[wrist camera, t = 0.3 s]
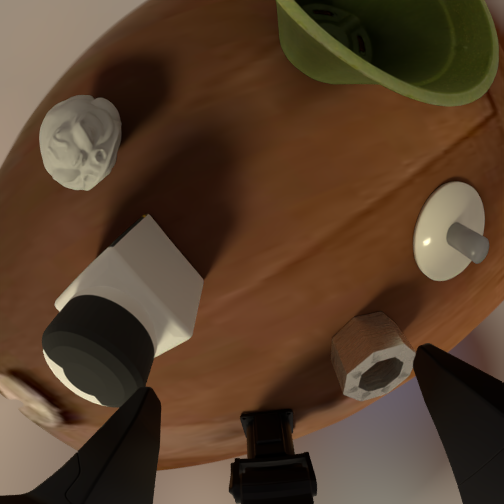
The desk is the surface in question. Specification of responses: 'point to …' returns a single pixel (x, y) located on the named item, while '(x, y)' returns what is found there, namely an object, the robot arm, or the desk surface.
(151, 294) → the medicine bottle
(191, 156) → the desk surface
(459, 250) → the hub post
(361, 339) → the ring
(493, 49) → the plant pot
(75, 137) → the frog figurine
